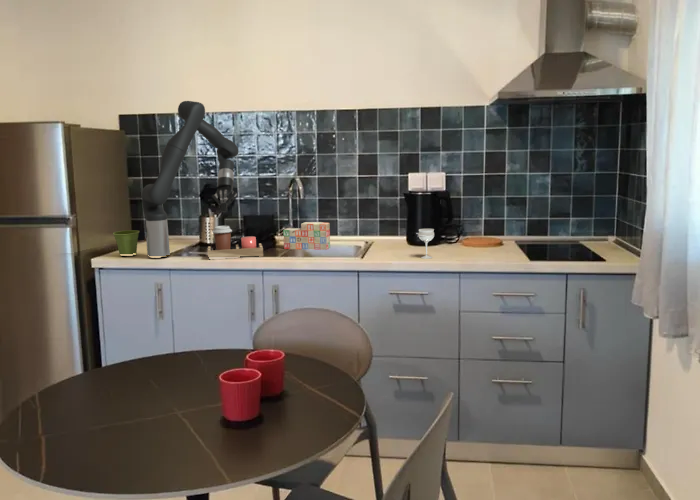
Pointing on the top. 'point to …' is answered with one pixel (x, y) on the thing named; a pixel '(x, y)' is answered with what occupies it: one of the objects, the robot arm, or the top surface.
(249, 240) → the red rounded block
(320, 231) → the stack of blocks
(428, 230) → the wineglass
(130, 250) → the plant pot
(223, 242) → the coffee cup
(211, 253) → the oak rack
